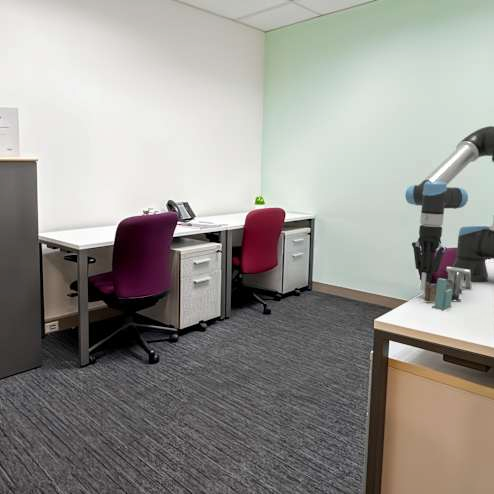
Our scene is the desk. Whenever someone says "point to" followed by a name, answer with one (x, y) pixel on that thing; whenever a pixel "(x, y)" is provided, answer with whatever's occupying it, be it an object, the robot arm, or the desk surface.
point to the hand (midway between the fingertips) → (424, 289)
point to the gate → (434, 291)
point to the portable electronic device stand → (464, 273)
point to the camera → (452, 282)
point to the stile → (442, 295)
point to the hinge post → (456, 286)
